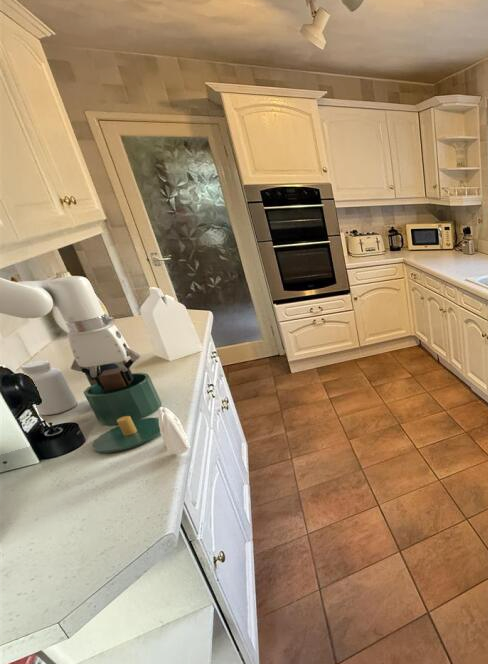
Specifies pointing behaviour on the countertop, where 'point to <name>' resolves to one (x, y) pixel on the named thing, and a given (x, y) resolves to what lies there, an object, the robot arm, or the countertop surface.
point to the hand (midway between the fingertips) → (117, 384)
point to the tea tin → (124, 400)
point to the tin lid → (127, 434)
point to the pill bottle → (50, 387)
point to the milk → (169, 326)
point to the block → (112, 379)
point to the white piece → (172, 432)
